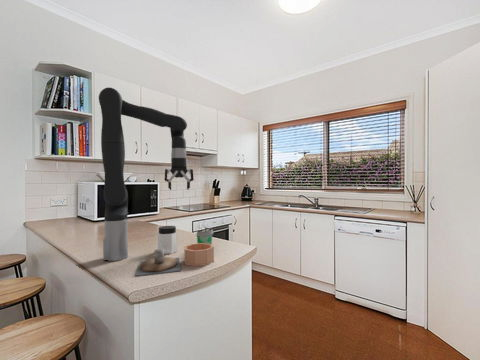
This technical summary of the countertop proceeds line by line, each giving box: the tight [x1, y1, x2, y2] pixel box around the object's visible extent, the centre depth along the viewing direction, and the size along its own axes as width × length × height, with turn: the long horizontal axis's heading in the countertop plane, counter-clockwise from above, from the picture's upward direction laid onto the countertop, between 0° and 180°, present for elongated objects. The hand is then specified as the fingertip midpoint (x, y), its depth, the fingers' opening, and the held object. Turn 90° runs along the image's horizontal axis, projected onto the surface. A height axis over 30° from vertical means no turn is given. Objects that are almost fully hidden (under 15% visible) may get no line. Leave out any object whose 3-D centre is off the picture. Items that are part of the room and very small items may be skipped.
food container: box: [196, 227, 214, 245], centre depth 120 cm, size 12×6×10 cm, turn 168°
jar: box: [157, 225, 178, 255], centre depth 117 cm, size 9×8×12 cm
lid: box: [140, 248, 177, 272], centre depth 96 cm, size 14×14×6 cm
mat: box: [134, 257, 182, 277], centre depth 96 cm, size 16×16×1 cm
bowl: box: [183, 243, 215, 267], centre depth 103 cm, size 12×12×6 cm
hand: (179, 189), depth 122 cm, fingers open, 8 cm apart
